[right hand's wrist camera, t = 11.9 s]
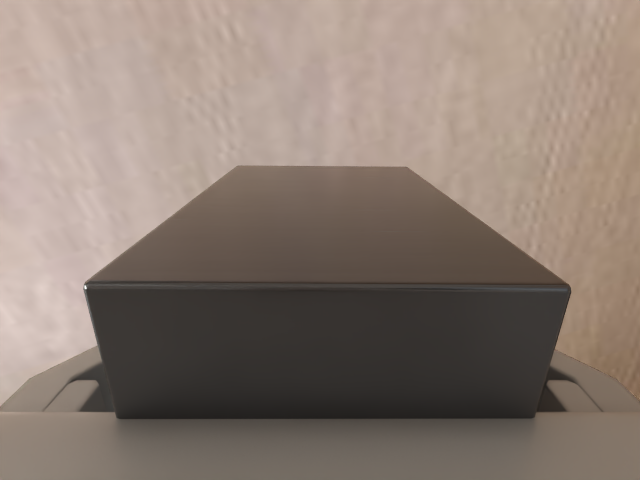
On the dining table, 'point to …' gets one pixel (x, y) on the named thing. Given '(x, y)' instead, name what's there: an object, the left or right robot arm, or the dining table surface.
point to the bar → (325, 305)
